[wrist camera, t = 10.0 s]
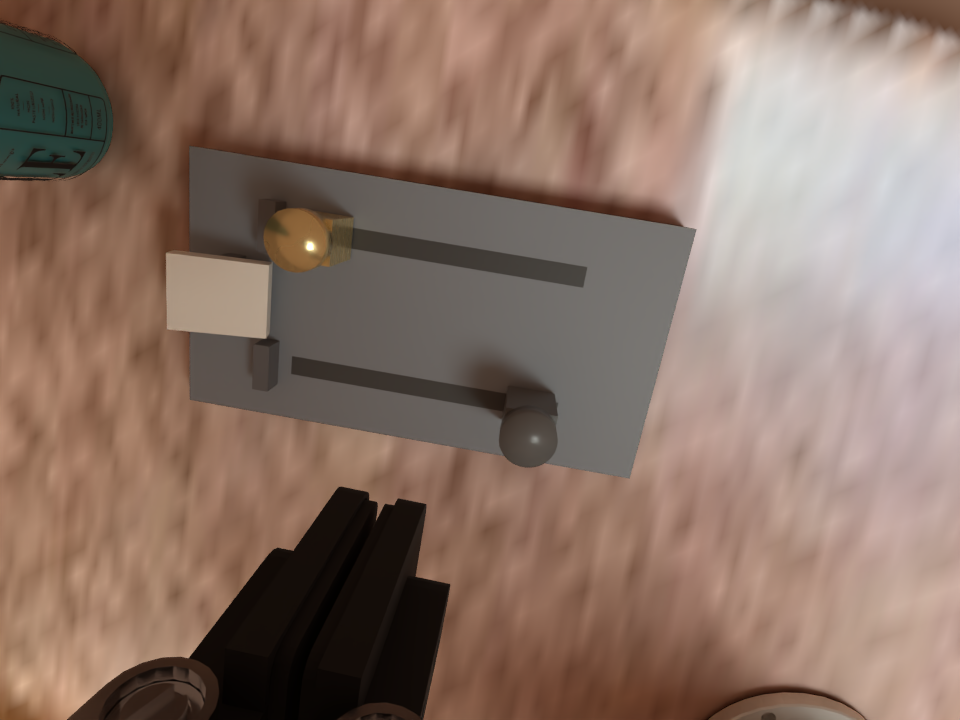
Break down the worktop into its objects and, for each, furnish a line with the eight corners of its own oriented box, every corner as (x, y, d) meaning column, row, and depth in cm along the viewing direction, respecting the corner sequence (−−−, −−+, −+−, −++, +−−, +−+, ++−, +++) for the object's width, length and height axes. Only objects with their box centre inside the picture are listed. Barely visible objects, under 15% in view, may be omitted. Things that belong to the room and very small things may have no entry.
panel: (684, 226, 27) (704, 230, 24) (623, 460, 31) (634, 490, 28) (212, 149, 28) (173, 143, 25) (210, 387, 32) (176, 407, 29)
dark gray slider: (557, 388, 28) (563, 419, 24) (547, 435, 28) (551, 472, 25) (507, 379, 28) (504, 409, 24) (498, 426, 29) (494, 461, 25)
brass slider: (356, 211, 26) (327, 213, 22) (351, 265, 27) (322, 277, 23) (302, 202, 26) (264, 203, 22) (299, 256, 27) (262, 267, 23)
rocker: (272, 262, 27) (268, 265, 26) (269, 333, 28) (266, 338, 27) (173, 249, 26) (165, 252, 25) (174, 323, 27) (166, 329, 26)
